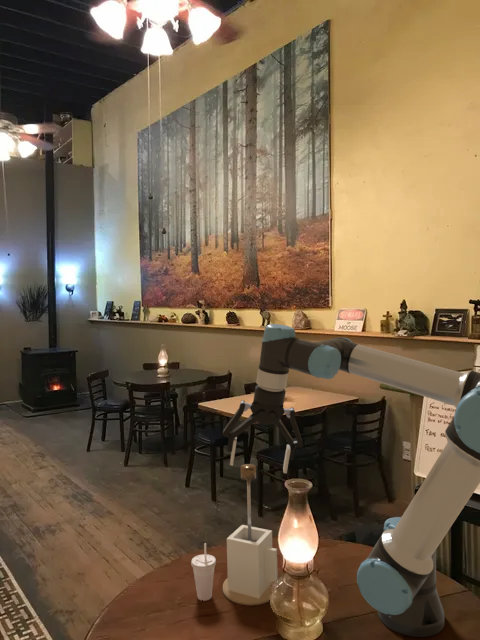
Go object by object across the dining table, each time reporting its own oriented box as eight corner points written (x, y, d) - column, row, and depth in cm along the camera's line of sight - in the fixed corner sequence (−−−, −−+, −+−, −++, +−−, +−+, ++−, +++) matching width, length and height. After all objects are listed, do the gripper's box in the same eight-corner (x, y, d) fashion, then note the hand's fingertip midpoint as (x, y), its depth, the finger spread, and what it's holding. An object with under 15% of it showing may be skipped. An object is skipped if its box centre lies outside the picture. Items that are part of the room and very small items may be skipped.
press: (287, 580, 139) (286, 528, 139) (265, 611, 126) (263, 553, 125) (238, 568, 146) (237, 518, 145) (212, 596, 133) (211, 541, 132)
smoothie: (213, 605, 129) (211, 550, 128) (189, 602, 130) (187, 548, 130) (219, 590, 135) (218, 538, 135) (196, 588, 136) (194, 537, 136)
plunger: (264, 544, 137) (262, 464, 136) (255, 554, 131) (253, 471, 131) (245, 540, 139) (243, 461, 138) (235, 550, 134) (233, 468, 133)
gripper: (318, 389, 130) (305, 467, 133) (221, 375, 130) (210, 453, 133) (322, 398, 122) (308, 480, 126) (219, 383, 122) (208, 466, 125)
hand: (258, 467), depth 129 cm, fingers open, 13 cm apart
